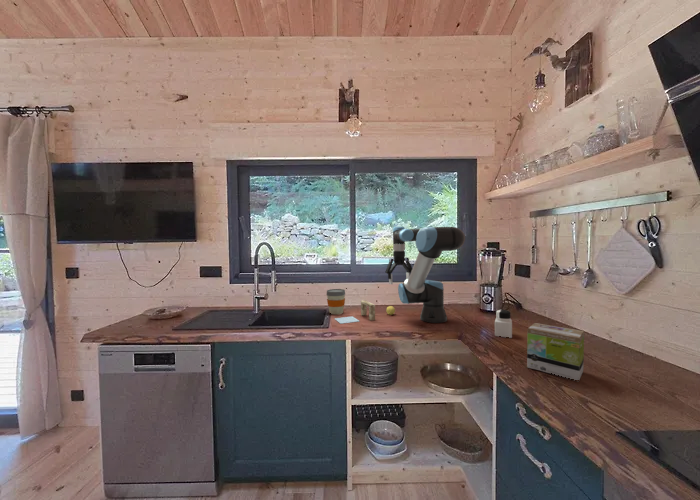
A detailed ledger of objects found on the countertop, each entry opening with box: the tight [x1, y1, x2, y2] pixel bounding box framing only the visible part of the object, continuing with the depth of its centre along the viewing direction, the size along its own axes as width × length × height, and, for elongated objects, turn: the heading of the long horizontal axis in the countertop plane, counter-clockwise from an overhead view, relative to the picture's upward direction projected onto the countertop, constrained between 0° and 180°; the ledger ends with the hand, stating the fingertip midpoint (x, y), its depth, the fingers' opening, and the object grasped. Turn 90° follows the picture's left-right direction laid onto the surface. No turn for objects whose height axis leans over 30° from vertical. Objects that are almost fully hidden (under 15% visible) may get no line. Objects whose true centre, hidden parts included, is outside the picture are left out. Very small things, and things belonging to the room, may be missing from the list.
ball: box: [385, 305, 396, 316], centre depth 182 cm, size 6×6×6 cm
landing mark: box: [333, 316, 360, 325], centre depth 172 cm, size 12×12×1 cm
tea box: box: [526, 322, 585, 381], centre depth 100 cm, size 15×10×15 cm, turn 45°
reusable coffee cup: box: [326, 288, 346, 315], centre depth 190 cm, size 13×13×15 cm
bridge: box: [360, 300, 376, 321], centre depth 177 cm, size 3×14×9 cm, turn 21°
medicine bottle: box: [494, 309, 513, 339], centre depth 139 cm, size 7×7×12 cm
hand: (399, 283), depth 186 cm, fingers open, 13 cm apart
